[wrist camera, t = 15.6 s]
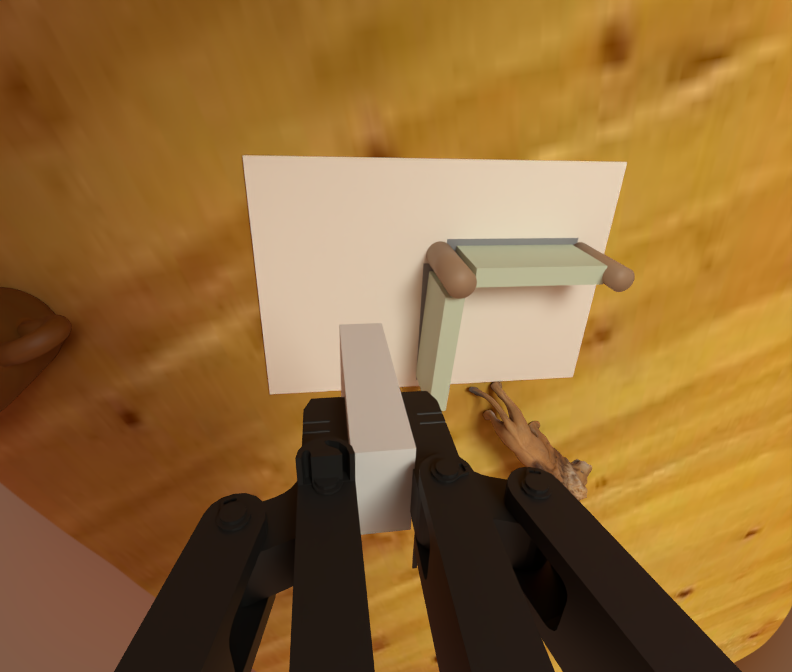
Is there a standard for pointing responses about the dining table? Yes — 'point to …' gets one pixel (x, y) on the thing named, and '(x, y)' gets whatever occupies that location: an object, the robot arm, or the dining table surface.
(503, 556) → the robot arm
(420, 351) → the fence panel
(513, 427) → the lion figurine
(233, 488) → the dining table surface
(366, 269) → the card
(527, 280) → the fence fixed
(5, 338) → the mug
